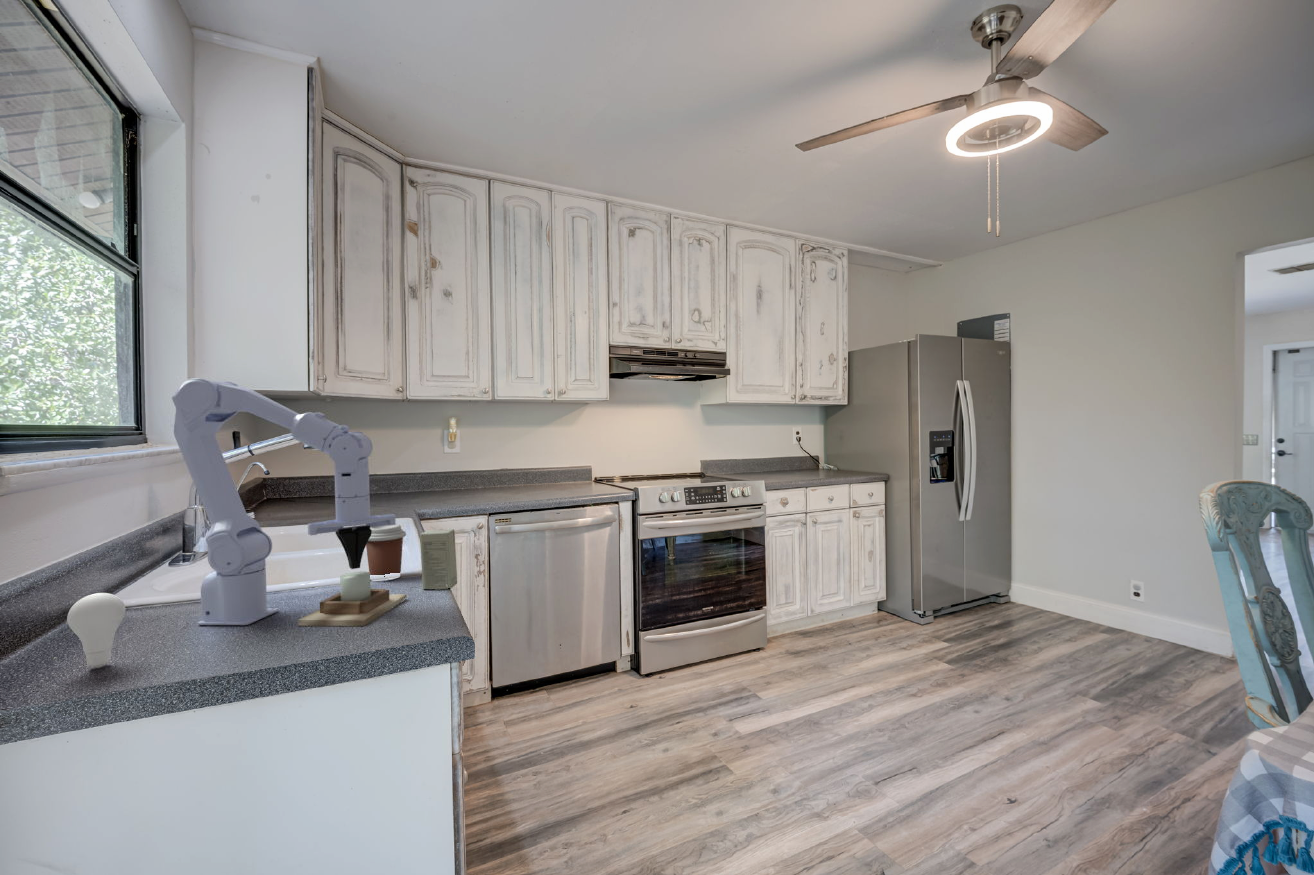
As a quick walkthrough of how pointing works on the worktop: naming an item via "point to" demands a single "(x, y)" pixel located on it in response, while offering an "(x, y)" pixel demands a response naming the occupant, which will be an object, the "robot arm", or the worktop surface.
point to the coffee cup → (385, 549)
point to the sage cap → (355, 586)
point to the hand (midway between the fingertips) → (354, 567)
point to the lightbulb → (96, 625)
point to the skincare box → (438, 559)
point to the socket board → (352, 610)
